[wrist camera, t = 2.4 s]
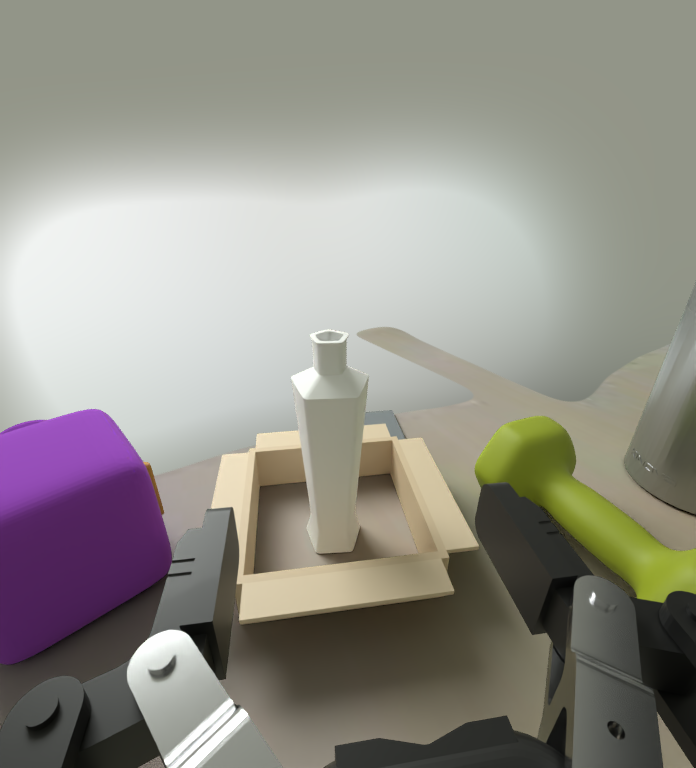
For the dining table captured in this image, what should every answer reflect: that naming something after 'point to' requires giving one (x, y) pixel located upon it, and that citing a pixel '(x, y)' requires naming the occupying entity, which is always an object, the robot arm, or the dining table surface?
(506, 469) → the dumbbell
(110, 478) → the toy camera
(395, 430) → the mat
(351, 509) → the white vase
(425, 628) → the dining table surface
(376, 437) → the carton
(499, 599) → the dining table surface
